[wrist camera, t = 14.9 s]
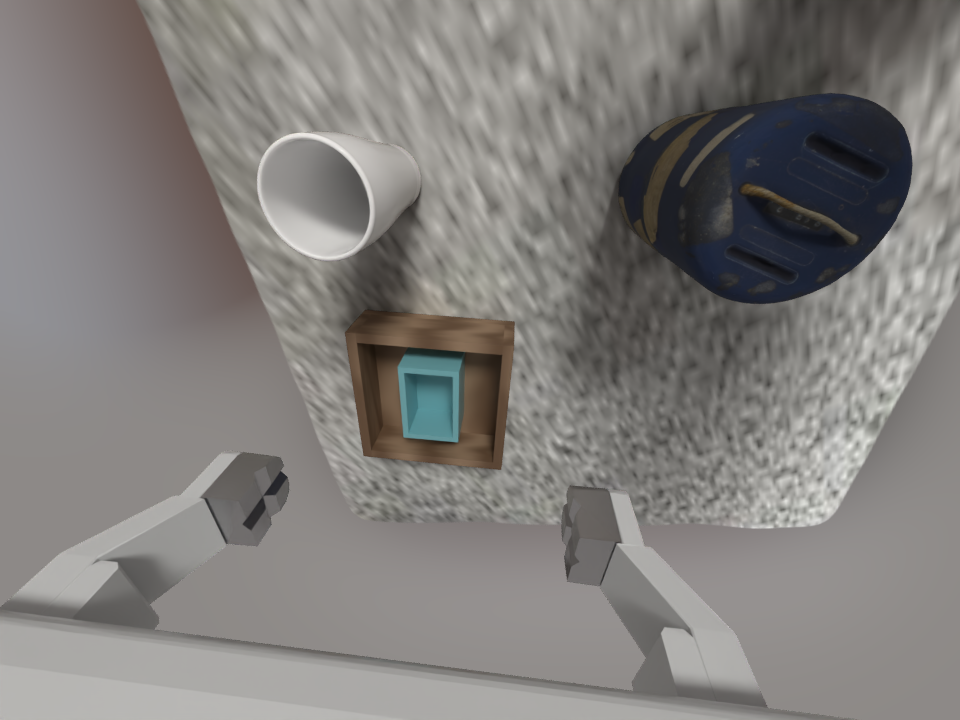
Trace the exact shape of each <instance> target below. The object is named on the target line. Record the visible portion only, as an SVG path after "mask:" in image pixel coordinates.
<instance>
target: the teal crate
mask: <svg viewBox="0 0 960 720" xmlns="http://www.w3.org/2000/svg"><path fill="white" fill-rule="evenodd" d="M398 378H399V390H400V402H401V413H402V425H403V437H404V438H415V439H426V440H437V441H448V442H458V441H459V436H460V431H461V426H462V421H463V416H464V389H465V352H461V351H449V350H437V349H425V348H413V347H408V349H407V350H406V352H405V354H404V356H403V358H402V360H401V362H400V364H399V365H398Z"/></svg>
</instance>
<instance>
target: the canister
mask: <svg viewBox="0 0 960 720" xmlns="http://www.w3.org/2000/svg"><path fill="white" fill-rule="evenodd" d="M911 175H912V154H911V147H910V143H909V140H908V137H907V134H906V131H905V129H904V127H903V126H902V124H901V123H900V122H899V121H898V120H897V119H896V118H895V117H894V116H893V115H892V114H891V113H890V112H889V111H887V110H886V109H885V108H883V107H881V106H880V105H878V104H876V103H874V102H872V101H869V100H867V99H863V98H860V97H855V96H850V95H845V94H835V93H828V94H817V95H809V96H802V97H796V98H790V99H784V100H778V101H772V102H766V103H760V104H754V105H749V106H742V107H730V108H724V109H718V110H712V111H706V112H700V113H695V114H689V115H684V116H680V117H677V118H674V119H671V120H669V121H667V122H665V123H663V124H661V125H660V126H658V127H657V128H655V129H654V130H652V131H651V132H650V133H649V134H648V135H646V136H645V137H644V138H643V139H642V140H641V141H640V143H639V144H638V145H637V146H636V147H635V149H634V150H633V152H632V153H631V154H630V156H629V158H628V159H627V162H626V164H625V166H624V168H623V171H622V175H621V178H620V183H619V204H620V208H621V212H622V215H623V217H624V219H625V221H626V223H627V224H628V226H629V227H630V228H631V229H632V230H633V231H634V232H635V233H636V234H637V235H638V236H639V237H640V238H642V239H643V240H644V241H645V242H646V243H647V244H648V245H650V246H651V247H652V248H653V249H655V250H656V251H657V252H659V253H660V254H661V255H663V256H664V257H666V258H667V259H669V260H670V261H672V262H673V263H674V264H675V265H677V266H678V267H679V268H681V269H682V270H683V271H684V272H686V273H687V274H688V275H690V276H691V277H692V278H694V279H695V280H696V281H697V282H699V283H700V284H701V285H703V286H704V287H705V288H707V289H708V290H710V291H711V292H713V293H715V294H717V295H719V296H721V297H723V298H726V299H729V300H733V301H737V302H742V303H751V304H769V303H777V302H783V301H788V300H792V299H795V298H798V297H801V296H804V295H807V294H810V293H812V292H815V291H817V290H819V289H821V288H823V287H825V286H827V285H830V284H831V283H833V282H835V281H836V280H838V279H839V278H841V277H842V276H843V275H845V274H846V273H848V272H849V271H851V270H852V269H853V268H854V267H856V266H857V265H858V264H859V263H860V262H862V261H863V260H864V259H865V258H866V257H867V256H868V255H869V254H870V253H871V252H872V251H873V250H874V249H875V248H876V246H877V245H878V244H879V243H880V241H881V240H882V239H883V238H884V236H885V235H886V234H887V232H888V231H889V230H890V228H891V227H892V225H893V224H894V222H895V221H896V219H897V216H898V214H899V212H900V210H901V209H902V207H903V205H904V202H905V200H906V198H907V194H908V191H909V187H910V183H911Z"/></svg>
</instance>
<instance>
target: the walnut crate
mask: <svg viewBox="0 0 960 720" xmlns="http://www.w3.org/2000/svg"><path fill="white" fill-rule="evenodd" d="M514 326H515V322H512V321H499V320H487V319H474V318H461V317H449V316H436V315H423V314H411V313H398V312H385V311H373V310H365V311H364V312H363V313H362V314H361V315H360V316H359V317H358V319H357V320H356V321H355V322H354V323H353V324H352V325H351V326H350V327H349V329H348V330H347V331H346V332H345V336H346V343H347V350H348V356H349V363H350V369H351V376H352V382H353V389H354V395H355V402H356V409H357V415H358V422H359V428H360V435H361V441H362V448H363V455H364V456H368V457H378V458H388V459H398V460H408V461H418V462H428V463H438V464H448V465H458V466H468V467H478V468H488V469H498V470H501V466H502V457H503V447H504V438H505V428H506V418H507V409H508V399H509V390H510V380H511V370H512V361H513V351H514ZM408 347H413V348H425V349H437V350H449V351H461V352H465V389H464V416H463V421H462V426H461V431H460V436H459V441H458V442H448V441H437V440H426V439H415V438H404V437H403V425H402V413H401V402H400V390H399V378H398V365H399V364H400V362H401V360H402V358H403V356H404V354H405V352H406V350H407V349H408Z"/></svg>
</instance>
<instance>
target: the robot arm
mask: <svg viewBox="0 0 960 720" xmlns="http://www.w3.org/2000/svg"><path fill="white" fill-rule="evenodd" d="M283 467H284V464H283V461H282V459H281V458H280V457H276V456H269V455H261V454H254V453H245V452H236V451H225V452H223V453H220V455H219V456H218V457H217V458H216V459H215V460H214V461H213V462H212V463H211V464H210V465H209V466H208V467H207V468H206V469H205V470H204V471H203V472H202V473H201V474H200V475H199V476H198V477H197V479H196V480H195V481H194V482H193V483H192V484H191V485H190V486H189V487H188V488H187V489H186V490H185V491H184V492H183V493H182V494H181V495H180V496H172V497H170V498H168V499H167V500H165V501H163V502H161V503H159V504H157V505H155V506H153V507H151V508H149V509H147V510H145V511H143V512H141V513H139V514H137V515H135V516H133V517H131V518H129V519H127V520H125V521H123V522H121V523H119V524H117V525H115V526H113V527H111V528H110V529H107V530H106V531H104V532H101V533H99V534H97V535H96V536H94V537H92V538H90V539H88V540H86V541H84V542H82V543H80V544H78V545H76V546H74V547H72V548H70V549H68V550H66V551H64V552H62V553H60V554H59V555H58V556H57V557H56V558H54V559H53V560H52V561H51V562H50V563H49V564H48V565H47V566H46V567H44V568H43V569H42V570H41V571H40V572H39V573H38V574H37V575H36V576H34V577H33V578H32V579H31V580H30V581H29V582H28V583H27V584H26V585H24V586H23V587H22V588H21V589H20V590H19V591H18V592H17V593H16V594H15V595H13V596H12V597H11V598H10V599H9V600H8V601H7V602H6V603H5V604H3V605H2V606H1V607H0V720H857V719H850V718H841V717H834V716H826V715H818V714H810V713H802V712H795V711H787V710H779V709H771V708H768V707H767V705H766V702H765V700H764V698H763V696H762V693H761V691H760V689H759V687H758V684H757V682H756V680H755V677H754V675H753V673H752V670H751V668H750V666H749V664H748V661H747V659H746V657H745V654H744V652H743V650H742V648H741V646H740V643H739V641H738V639H737V636H736V634H735V633H734V632H733V631H732V630H731V629H730V628H729V627H728V626H727V625H726V624H725V623H724V622H723V621H722V620H721V619H720V618H719V617H718V616H717V614H715V612H714V611H713V610H712V609H711V608H710V607H709V606H708V605H707V604H706V603H705V602H704V601H703V600H702V599H701V598H700V597H699V596H698V595H697V594H696V593H695V592H694V591H693V590H692V589H691V588H690V587H689V586H688V585H687V584H686V583H685V582H684V581H683V579H682V578H681V577H680V576H679V575H678V574H677V573H676V572H675V571H674V570H673V569H672V568H671V567H670V566H669V565H668V564H667V563H666V562H665V561H664V560H663V559H662V558H661V557H660V556H659V555H658V554H657V553H656V552H655V551H654V550H653V549H652V547H647V546H645V545H644V541H643V538H642V535H641V532H640V529H639V525H638V522H637V519H636V516H635V513H634V510H633V507H632V503H631V500H630V497H629V494H628V493H627V492H626V491H623V490H613V489H605V488H593V487H582V486H571V485H570V486H569V488H568V491H567V494H566V495H567V504H566V505H564V507H563V512H562V522H561V527H562V541H563V542H564V544H565V545H566V546H567V548H566V552H565V556H564V559H565V568H566V576H567V582H573V583H580V584H587V585H595V586H600V589H601V590H602V592H603V594H604V595H605V597H606V598H607V600H608V601H609V603H610V604H611V606H612V607H613V609H614V610H615V612H616V613H617V615H618V616H619V618H620V619H621V621H622V622H623V624H624V625H625V627H626V628H627V630H628V631H629V633H630V634H631V636H632V637H633V639H634V640H635V642H636V643H637V645H638V647H639V648H640V649H641V651H642V653H643V654H644V656H645V657H646V659H645V661H644V662H643V664H642V666H641V667H640V669H639V671H638V673H637V674H636V676H635V678H634V679H633V681H632V686H633V691H631V690H622V689H614V688H607V687H599V686H591V685H584V684H576V683H568V682H559V681H552V680H544V679H536V678H529V677H521V676H513V675H505V674H498V673H489V672H482V671H474V670H466V669H459V668H451V667H443V666H435V665H427V664H420V663H412V662H403V661H396V660H388V659H380V658H372V657H365V656H357V655H349V654H341V653H334V652H326V651H318V650H310V649H303V648H294V647H286V646H279V645H271V644H263V643H255V642H248V641H240V640H232V639H224V638H216V637H208V636H201V635H193V634H184V633H177V632H169V631H162V630H154V629H155V627H156V626H157V625H158V624H159V617H158V615H157V614H156V612H155V611H154V610H153V608H152V607H151V606H150V604H151V603H152V602H153V601H155V600H156V599H157V598H159V597H160V596H161V595H163V594H164V593H165V592H167V591H168V590H169V589H170V588H172V587H173V586H174V585H176V584H177V583H178V582H180V581H181V580H182V579H183V578H185V577H186V576H187V575H189V574H190V573H191V572H193V571H194V570H195V569H197V568H198V567H199V566H201V565H202V564H203V563H205V562H206V561H207V560H208V559H210V558H211V557H212V556H214V555H215V554H216V553H218V552H219V551H220V550H222V549H223V548H224V547H225V546H226V544H235V545H247V546H258V545H259V543H260V542H261V540H262V538H263V537H264V535H265V534H266V532H267V531H268V529H269V528H270V526H271V516H273V515H274V514H276V513H277V512H279V511H280V510H281V509H282V507H283V506H284V504H285V502H286V500H287V497H288V493H289V480H288V477H287V476H286V475H285V474H283V473H282V472H281V470H282V468H283Z"/></svg>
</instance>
